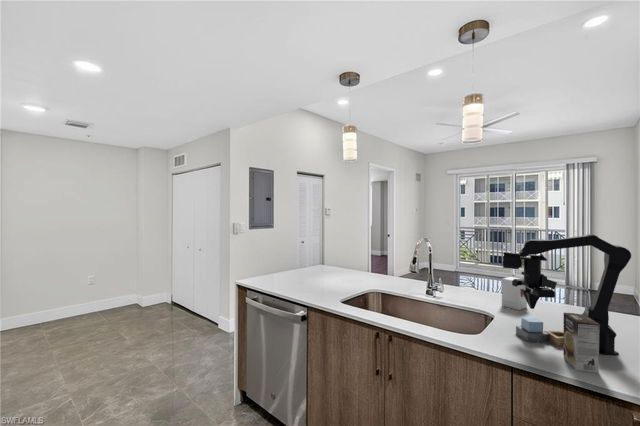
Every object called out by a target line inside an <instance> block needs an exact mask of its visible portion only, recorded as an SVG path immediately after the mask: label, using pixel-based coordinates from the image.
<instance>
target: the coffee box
mask: <svg viewBox="0 0 640 426" xmlns="http://www.w3.org/2000/svg"><path fill="white" fill-rule="evenodd" d="M563 332H564V342H563V343H564V344H563V345H564V347H563V354H562V355H563V358H564V360H566V361H567V362H568V363H569V364H570V365H571V367H573V369H575V370H576V371H581V372H590V373H596V374H598V373H599V367H600V366H599V362H600V361H599V359H600V356H599V355H600V354H599V323H597V322H595V321H594V320H592V319H591V318H589V317H587V316H586V315H584V314H583V313H581V314H579V313H574V312H573V313H572V312H563Z"/></svg>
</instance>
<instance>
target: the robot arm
mask: <svg viewBox="0 0 640 426" xmlns="http://www.w3.org/2000/svg"><path fill="white" fill-rule="evenodd" d="M587 246H589V247H590V246H592V247H593V248H594V249H596V250H599V251H600V252H602V253H604V254H603V264H604V267H603V268H604V269H603V272H602V275H601V277H600V282H599V284H598V286H597V287H598V288H597V290H596V293H595V296H594V299H593V302H592V304H591V305H590V306H589V305H587V304H585V305H584V311H583V313H582V314H584V315H586V316H587V317H589V318H591V319H592V320H594V321H595V322H597V323H599V355H614V356H615V355H620V353H619V352H618V351H616V350H615V341H616V340H615V339H616V337H617V333H616V332H615V331H614V330H613V328H612V327H611V326H610V325H609V319H610V317H609V316H610V315H609V307H610V304H611V301H612V298H613V295H614V291H615V289H616V286H617V282H618V281H619V276H620V274H621V272H622V271H623V270H624V269H625V268H626V267H627V265H628V263H629V262H630V261H631V258H632V252H630V250H629V249H628V248H626V247H623V246H620V245H619V244H618V245H617V244H611V243H609V242H607V241H606V240H603V239H602V238H600V237H598V236H597V235H595V234H593V233H592V234H589V233H588V234H586V235H579V236H578V235H577V236H571V237H570V236H569V237H564V238H556V239H555V238H554V239H540V238H538V239H536V238H531V239H527V240H525V242H524V243H523V248H522V249H520V250H519V252H518V253H517V252H508V251H504V252H503V259H502V268H503V269H509V270H510V269H512V270H519V269H521V268H522V267H523V271H521V275H523V278H520V279H514V280H513V281H512V285H513V286H515V287H517V286H518V285H521V286H522V289H520V291H521V292H522V294H523V295H524V297H525V299H526V301H527V306H528V307H529V309H530V310H534V309H535V308H536V305H537V303H538V301H539V299H540V298H553V299H555V298H556V291H554V290H556V288H557V287H556V286H557V285H558V282H556V281H554V280H551V279H548V277H547V276H546V275H544V273H542V262H543V261H544V262H547V261H548V259H547V258H546V257H545V256H544V255H543V253H546V252H549V251H553V250H561V249H570V248H578V247H579V248H581V247H587Z"/></svg>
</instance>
